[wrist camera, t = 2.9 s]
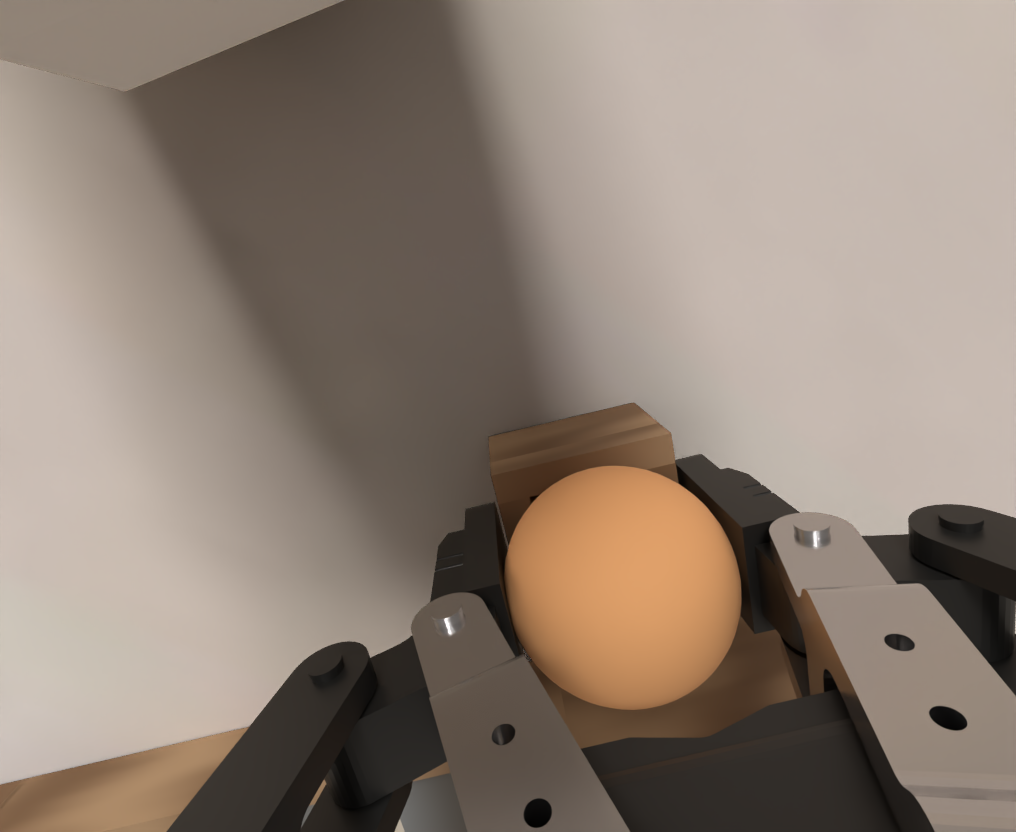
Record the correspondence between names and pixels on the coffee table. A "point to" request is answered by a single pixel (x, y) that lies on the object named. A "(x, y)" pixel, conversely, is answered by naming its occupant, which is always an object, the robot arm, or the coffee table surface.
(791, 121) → the coffee table surface
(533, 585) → the ball
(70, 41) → the alarm clock
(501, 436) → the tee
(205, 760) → the lane
